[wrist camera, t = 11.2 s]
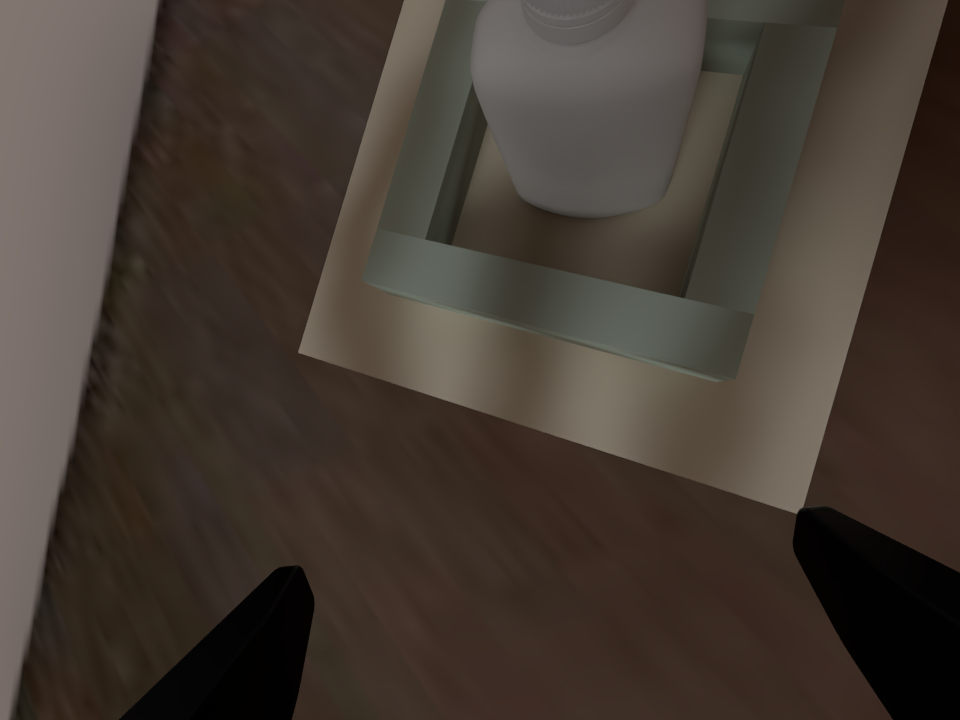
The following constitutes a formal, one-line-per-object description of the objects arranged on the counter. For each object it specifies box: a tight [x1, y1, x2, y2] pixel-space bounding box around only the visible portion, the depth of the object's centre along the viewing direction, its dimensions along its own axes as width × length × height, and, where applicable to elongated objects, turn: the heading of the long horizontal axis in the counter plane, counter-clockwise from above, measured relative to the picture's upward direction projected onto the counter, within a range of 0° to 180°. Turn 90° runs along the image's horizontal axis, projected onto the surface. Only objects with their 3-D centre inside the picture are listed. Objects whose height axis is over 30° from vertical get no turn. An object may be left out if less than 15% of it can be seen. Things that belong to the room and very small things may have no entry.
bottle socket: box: [298, 0, 948, 514], centre depth 18 cm, size 20×20×4 cm
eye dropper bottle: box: [470, 0, 708, 218], centre depth 13 cm, size 4×6×12 cm
